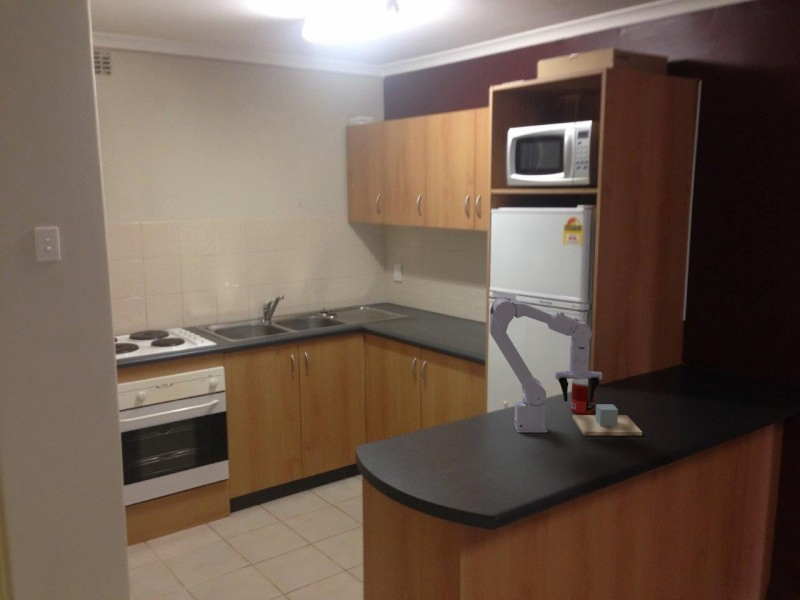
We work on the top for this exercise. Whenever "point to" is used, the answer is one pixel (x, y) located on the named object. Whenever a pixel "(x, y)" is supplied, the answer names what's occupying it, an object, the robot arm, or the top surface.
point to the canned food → (581, 398)
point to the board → (593, 428)
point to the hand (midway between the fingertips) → (577, 400)
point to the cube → (606, 415)
